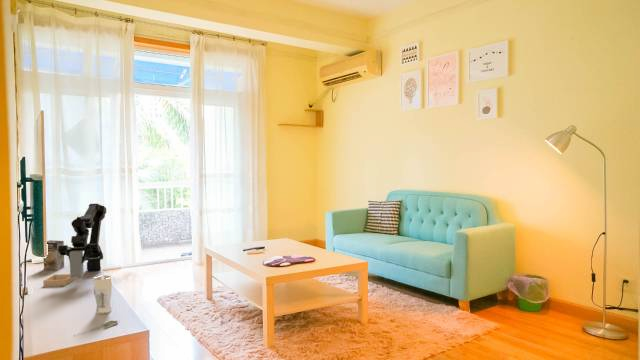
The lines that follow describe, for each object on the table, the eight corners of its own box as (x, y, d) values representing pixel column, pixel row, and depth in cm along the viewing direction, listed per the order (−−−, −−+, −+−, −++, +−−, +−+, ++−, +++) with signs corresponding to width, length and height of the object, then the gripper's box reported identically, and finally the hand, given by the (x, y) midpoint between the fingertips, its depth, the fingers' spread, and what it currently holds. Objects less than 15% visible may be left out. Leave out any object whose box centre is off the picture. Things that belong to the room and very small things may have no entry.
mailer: (80, 276, 240) (80, 270, 240) (65, 285, 223) (65, 280, 223) (60, 276, 239) (60, 271, 239) (43, 286, 222) (43, 280, 222)
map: (121, 323, 175) (120, 321, 175) (70, 343, 157) (70, 341, 157) (113, 321, 177) (113, 319, 177) (62, 340, 160) (62, 338, 160)
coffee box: (43, 269, 253) (41, 242, 252) (50, 266, 260) (49, 240, 259) (57, 269, 252) (56, 242, 251) (65, 267, 259) (64, 240, 258)
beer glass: (92, 311, 187) (90, 277, 186) (108, 307, 192) (107, 274, 191) (98, 315, 182) (96, 281, 181) (115, 311, 187) (114, 277, 186)
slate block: (83, 275, 225) (82, 250, 224) (81, 277, 221) (80, 252, 220) (72, 275, 224) (71, 250, 223) (70, 277, 220) (69, 252, 219)
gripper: (58, 230, 223) (51, 256, 213) (97, 228, 228) (92, 254, 218) (63, 242, 231) (57, 267, 221) (101, 240, 236) (97, 265, 226)
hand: (76, 263), depth 221 cm, fingers closed on slate block, 5 cm apart
